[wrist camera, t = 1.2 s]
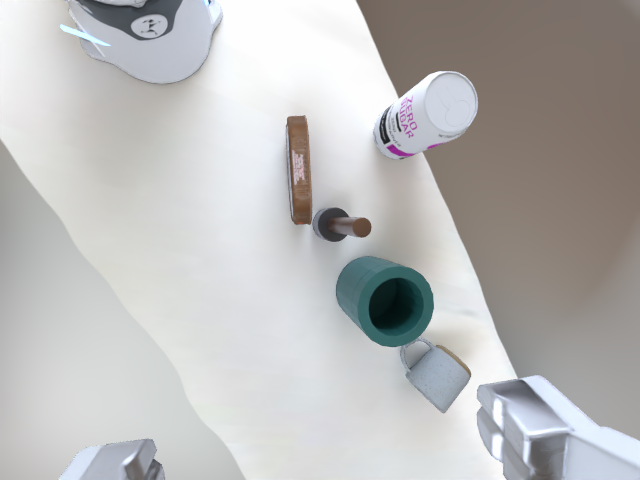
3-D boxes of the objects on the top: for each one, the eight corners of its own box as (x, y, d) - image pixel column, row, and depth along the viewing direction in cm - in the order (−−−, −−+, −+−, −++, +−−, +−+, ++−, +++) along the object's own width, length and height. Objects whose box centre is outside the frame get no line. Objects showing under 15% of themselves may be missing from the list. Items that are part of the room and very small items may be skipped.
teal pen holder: (325, 273, 51) (345, 288, 40) (384, 245, 53) (417, 253, 42) (350, 331, 53) (375, 361, 42) (406, 303, 54) (444, 324, 44)
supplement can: (427, 139, 53) (494, 109, 38) (391, 170, 52) (446, 152, 37) (399, 98, 51) (457, 51, 37) (361, 129, 50) (406, 94, 36)
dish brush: (307, 215, 50) (333, 215, 34) (336, 203, 50) (373, 197, 35) (320, 244, 50) (350, 257, 35) (347, 232, 51) (389, 239, 36)
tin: (307, 223, 50) (318, 225, 42) (287, 224, 49) (294, 226, 41) (301, 125, 48) (311, 106, 40) (281, 125, 48) (287, 106, 40)
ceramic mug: (455, 362, 57) (485, 383, 50) (424, 396, 56) (450, 423, 49) (418, 323, 55) (443, 339, 48) (386, 358, 54) (407, 380, 47)
